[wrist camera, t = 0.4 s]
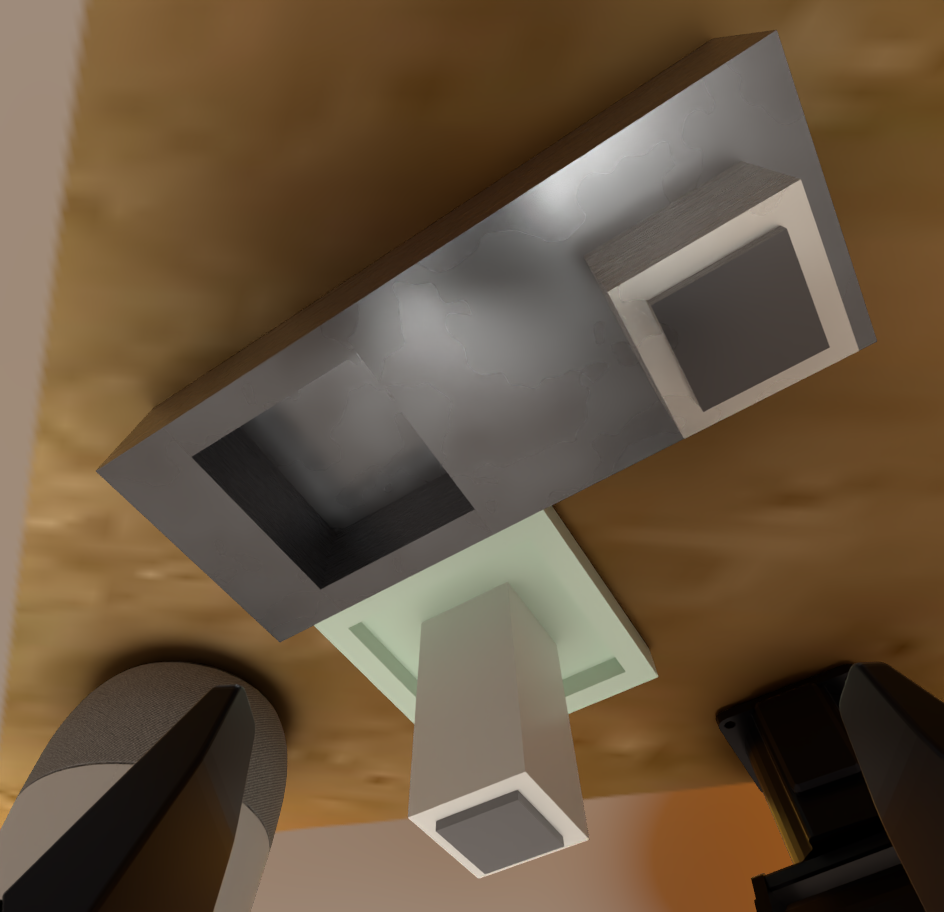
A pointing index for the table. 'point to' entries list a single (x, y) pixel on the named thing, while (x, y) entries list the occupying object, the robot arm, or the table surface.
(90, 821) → the robot arm
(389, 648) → the tray
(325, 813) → the table surface
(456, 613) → the plug
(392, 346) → the grey socket block
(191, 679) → the smart speaker
